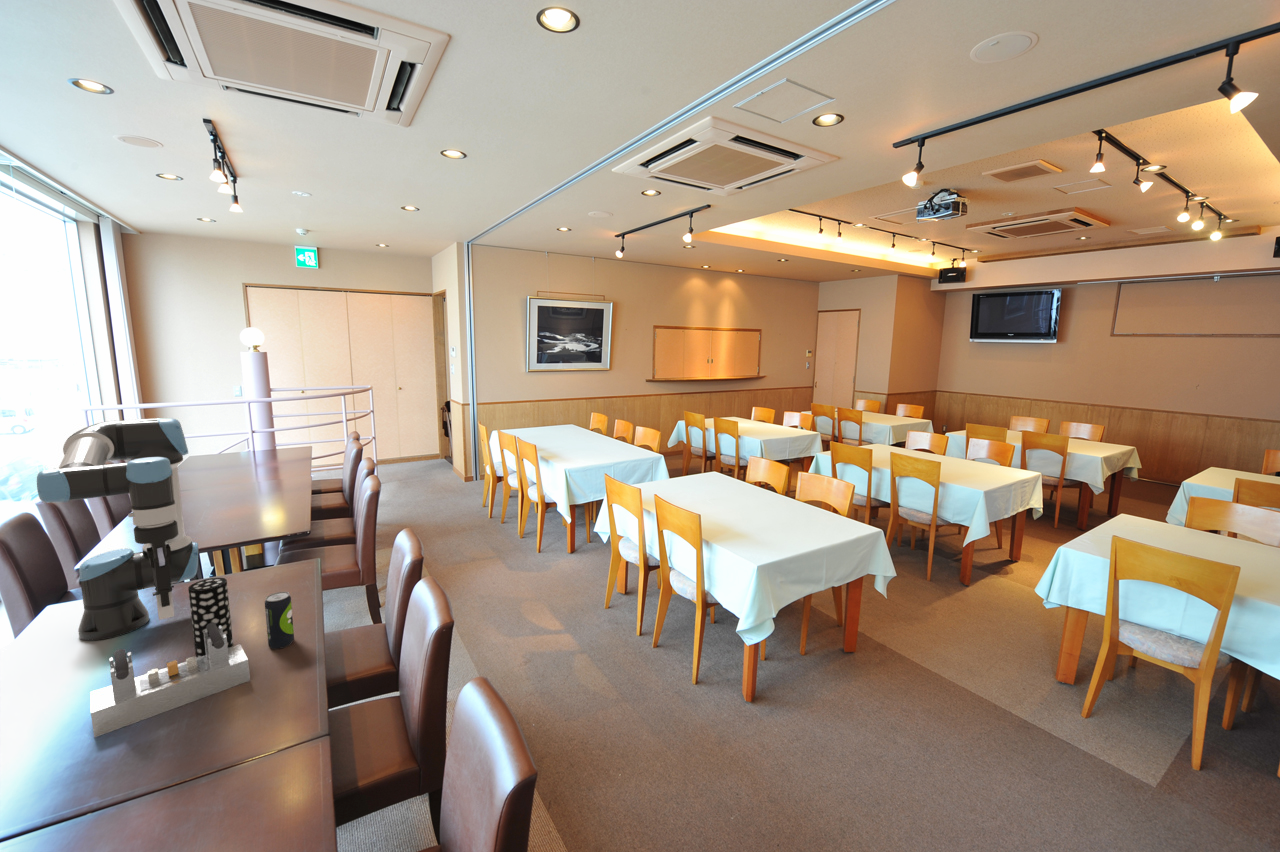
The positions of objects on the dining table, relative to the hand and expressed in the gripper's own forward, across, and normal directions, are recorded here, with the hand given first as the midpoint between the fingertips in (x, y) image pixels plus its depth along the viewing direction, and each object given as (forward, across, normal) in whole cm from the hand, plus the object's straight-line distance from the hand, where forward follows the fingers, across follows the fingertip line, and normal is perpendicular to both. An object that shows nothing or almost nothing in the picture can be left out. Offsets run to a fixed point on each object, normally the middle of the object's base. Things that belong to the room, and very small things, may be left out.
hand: (166, 617), depth 124 cm
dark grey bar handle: (+9, 0, -8) cm, 13 cm away
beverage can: (+22, -10, +24) cm, 34 cm away
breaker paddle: (+15, 0, 0) cm, 15 cm away
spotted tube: (+21, -20, +10) cm, 31 cm away
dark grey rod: (+9, 0, +8) cm, 13 cm away
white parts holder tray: (+21, 0, 0) cm, 21 cm away
